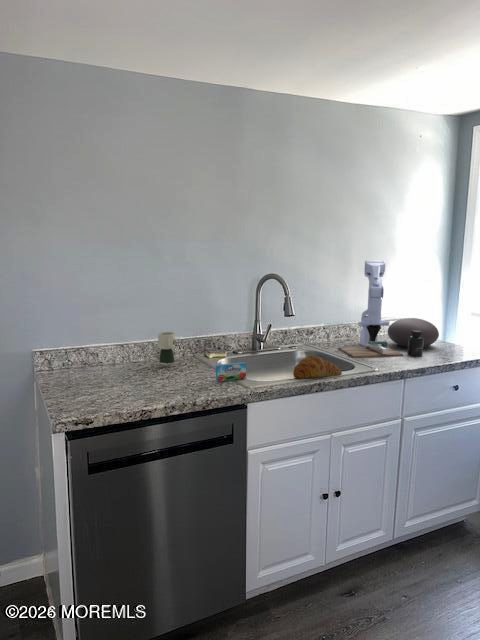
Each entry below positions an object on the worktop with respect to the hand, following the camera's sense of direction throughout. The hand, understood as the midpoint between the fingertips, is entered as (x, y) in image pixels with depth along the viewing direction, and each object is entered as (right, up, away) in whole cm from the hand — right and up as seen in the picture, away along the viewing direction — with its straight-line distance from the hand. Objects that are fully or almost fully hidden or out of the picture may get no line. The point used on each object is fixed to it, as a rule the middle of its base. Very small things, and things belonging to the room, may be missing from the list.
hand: (372, 341), depth 218 cm
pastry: (-32, -12, -32) cm, 47 cm away
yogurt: (-65, -13, -41) cm, 78 cm away
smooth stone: (+27, -4, +23) cm, 35 cm away
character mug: (-93, -9, -18) cm, 95 cm away
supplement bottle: (+21, -7, +3) cm, 22 cm away
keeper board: (+1, -6, +8) cm, 10 cm away
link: (+4, -5, +8) cm, 10 cm away
